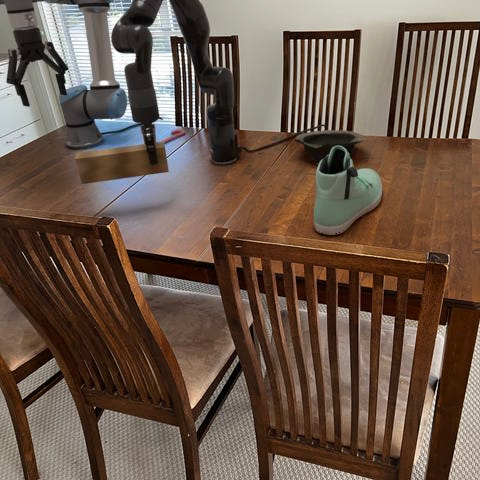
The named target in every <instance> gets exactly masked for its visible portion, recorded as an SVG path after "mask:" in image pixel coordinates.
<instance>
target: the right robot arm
mask: <svg viewBox="0 0 480 480" xmlns="http://www.w3.org/2000/svg"><path fill="white" fill-rule="evenodd" d="M163 2H164V0H131V3H130V6H129V7H128V8H127V10H126V11H125V12H124V13H123V14H122V15H121V17H120V18H119V19H118V20H117V22H116V23H115V25H114V26H113V27H112V30H111V34H110V43H111V46H112V47H113V49H114V50H115V51H116V52H117V53H120V54H124V55H135V59H134V62H130V63H127V64H126V65H125V66H124V71H123V72H124V77H125V82H126V87H127V99H128V103H129V109H130V113H131V119H132V122H134V123H135V124H139V123H142V124H143V125H140V132H141V135H142V138H143V144H145V145H146V148H147V150H146V151H147V153H148V155H149V160H150V164H151V165H154V164H157V163H158V161H157V155H156V147H155V143H156V142H157V135H156V125H155V123H152V122H153V121H156V120H157V121H158V120H160V119H159V117H160V111H159V105H158V98H157V93H156V92H157V91H156V89H155V85H154V81H153V74H152V58H153V48H154V47H153V46H154V39H153V34H152V32H151V30H150V29H149V28H150V27H151V26H153V24H154V23H155V21H156V19H157V17H158V14H159V12H160V9H161V6H162V4H163ZM168 2H169V5H170V7H171V9H172V11H173V14H174V16H175V21H176V23H177V26H178V28H179V31H180V33H181V35H182V38H183V41H184V43H185V45H186V48H187V51H188V54H189V57H190V59H191V63H192V67H193V70H194V73H195V74H194V75H195V78H196V81H197V84H198V86H199V89H200V90H201V92H202V93H204V94H205V95H212V96H215V103H211V104H209V105H208V106H207V107H206V120H207V129H208V137H209V152H210V158H211V159H210V160H211V163H212V164H214V165H216V166H217V165H218V166H226V165H231V164H234V163H235V162H236V161H237V160H239V158H240V157H239V155H240V154H241V153H243V150H245V152H247V153H255V152H258V151H261V150H264V149H266V148H270V147H272V146H275V145H278V144H281V143H282V142H285V141H287V140H290V139H292V138H294V137H297V136H298V135H300V134H303V133H308V132H311V131H315V130H316V129H319V128H321V127H324V128H328V125H326V124H323V123H322V124H318V125H316V126H314V127H310V128H307V129H303V130H301V131H299V132H296V133H293V134H291V135H289V136H287V137H284V138H282V139H279V140H277V141H275V142H272V143H269V144H266V145H263V146H260V147H258V148H255V149H248V148H247V147H245V146H242V145H239V144H238V143H239V142H238V134H237V133H236V131H235V121H234V106H235V84H234V83H235V82H234V76H233V72H232V70H230V69H229V68H228V67H224V66H213V64H212V62H211V59H210V56H209V52H208V45H209V41H210V35H211V24H210V21H209V19H208V15H207V12H206V9H205V7H204V5H203V3H202V2H201V1H200V0H168ZM157 121H156V122H157ZM148 146H153V147H154V148H149V147H148Z"/></svg>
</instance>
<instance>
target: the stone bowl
mask: <svg viewBox="0 0 480 480" xmlns="http://www.w3.org/2000/svg"><path fill="white" fill-rule="evenodd" d="M295 137H296V138H295V139H294V142H297V143H299V144H301V145H303V150H304V153H305V154H306V155H307V157H309V158H311V159H312V161H311V162H312V163H313V164H315V165H319V163H320V161H321V160H322V159H324V158H325V157H326V156H327V155H329V154H330V152H331V149H332V148H333V147H334V146H342V147H344V148H345V149H346V150H347V152H348V153H349V156H350V159H352V158H353V156H354V152H355V146H356V145H357V144H360V143H362V142H363V141H364V142H365V140H366V139H367V137H365V136H364V135H363V134H362V133H358V132H355V131H353V130H352V131H351V130H338V129H336V130H333V129H323V130H311V131H307V132H304V133H301V134H299V135H296V136H295Z"/></svg>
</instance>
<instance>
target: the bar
mask: <svg viewBox="0 0 480 480" xmlns="http://www.w3.org/2000/svg"><path fill="white" fill-rule="evenodd" d="M162 141H163V140H162ZM162 141H156V143H155V147H156V155H157V161H158V163H157V164H154V165H151V164H150V160H149V155H148V153H147V151H146V150H147V148H146V145H145V144H144V143H140V144H135V145H133V144H132V145H127V146H118V147H110V148H105V149H97V150H89V151H80V152H76V154H75V157H74V161H75V164H76V169H77V172H78V176H79V179H80V183H81V185H87V184H93V183H94V184H95V183H101V182H107V181H115V180H116V181H117V180H123V179H128V178H129V179H130V178H137V177H143V176H151V175H158V174H165V173H166V174H167V173H169V172H170V170H169V163H168V158H167V151H166V150H167V149H166V143H164V141H163V142H162ZM148 147H149V148H154V147H153V146H148Z"/></svg>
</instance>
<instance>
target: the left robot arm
mask: <svg viewBox="0 0 480 480" xmlns="http://www.w3.org/2000/svg"><path fill="white" fill-rule="evenodd" d="M114 1H115V0H0V5H4V6H5V9H6V13H7V17H8V20H9V24H10V27H11V29H13V31H12V34H13V37H14V40H15V41H14V42H15V43H16V45H17V48H16V49H15V48H9V49H8V50H7V53H8V64H7V74H6V81H5V82H6V84H8V85H13V86H14V89H15V92H16V95H17V96H18V97H20V100H21V104H22V106H23V107H27V108H29V107H31V104H30V101H29V97H28V94H27V91H26V87H25V84H23V83H22V82H23V79H24V77H25V74H26V71H27V68H28V66H29V65H30V63H35V62H36V61H43V62H44V63H45V64H46V65H47V66H49V67H50V68H51V69H52V70H53V71H55V72H56V73H55V74H54V76H55V80H56V82H57V87H58V92H59V93H58V100H59V105H60V108H61V113H62V116H63V119H64V123H65V126H66V133H65V144H66V148H68V149H70V150H85V149H92V148H94V147H97V146H99V145H102V143H104V136H105V135H112V134H118V133H122V132H124V131H127V130H130V129H132V128H135V127H141V126H142V125H143V124H142V123H134V124H131V125H129V126H126V127H124V128H122V129H118V130H110V131H104V132H103V131H102V132H101V130H100V129H99V127H98V125H97V124H96V121H95V120H117V119H121V118H123V117H124V116H125V114H126V111H127V107H128V94H127V92H126V90H125V89H123V88H122V87H121V85H120V83H119V82H118V81H117V80H116V76H115V67H114V59H113V52H112V42H111V34H110V28H109V20H108V19H109V18H108V12H109V11H110V9H111V4H112V3H113V2H114ZM39 2H41V3H42V2H43V3H47V4H49V5H50V4H56V5H57V4H58V5H67V6H77V7H78V11H79V12H81V13H82V15H83V20H84V27H85V35H86V41H87V48H88V56H89V62H90V70H91V76H92V82H91V83H90V84H89V89H88V87H87V85H85V84H80V85H75V86H72V87H69V88H68V87H67V88H66V84H67V80H66V77H65V74H66V71H69V67H68V64H67V63H65V61H64V60H63V58H62V57H61V55H60V54H59V52H58V51H57V50H56V48H55V46H54V44H53V42H52V41H44V43H43V37H42V33H41V29H40V28H39V27H38V25H39V22H38V18H37V15H36V11H35V7H34V3H39ZM45 50H47V52H48V53H49V55H50V56H51V58H52V59H51V58H50V56H49V55H48V54H46V53H45ZM19 56H20V58H19V63H18V57H19ZM158 120H160V121H164V118H163V117H161V116H159V119H158ZM158 120H156V121H153V122H152V124H155V123H156V122H157V121H158Z"/></svg>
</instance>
